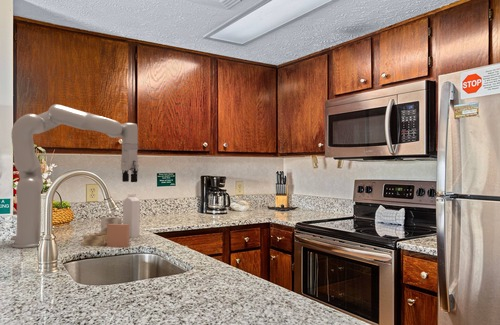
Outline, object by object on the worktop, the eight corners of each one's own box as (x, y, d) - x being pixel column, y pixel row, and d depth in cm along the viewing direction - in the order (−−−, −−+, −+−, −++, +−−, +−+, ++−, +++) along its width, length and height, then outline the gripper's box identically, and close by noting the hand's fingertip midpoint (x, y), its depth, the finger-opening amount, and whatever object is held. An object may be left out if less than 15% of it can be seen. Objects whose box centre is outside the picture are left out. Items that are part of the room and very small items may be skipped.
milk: (122, 237, 201) (122, 194, 201) (131, 235, 206) (131, 193, 207) (131, 238, 198) (131, 194, 199) (139, 236, 204) (140, 194, 204)
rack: (80, 245, 178) (81, 220, 179) (103, 238, 196) (104, 216, 196) (103, 246, 176) (104, 221, 176) (125, 239, 193) (125, 217, 193)
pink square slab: (107, 246, 176) (107, 224, 177) (109, 245, 178) (109, 223, 179) (126, 247, 174) (127, 225, 174) (129, 246, 176) (129, 224, 176)
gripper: (115, 148, 198) (115, 181, 198) (130, 146, 185) (130, 182, 185) (129, 148, 203) (129, 181, 203) (144, 147, 190) (144, 182, 190)
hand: (129, 181), depth 194 cm, fingers open, 9 cm apart
